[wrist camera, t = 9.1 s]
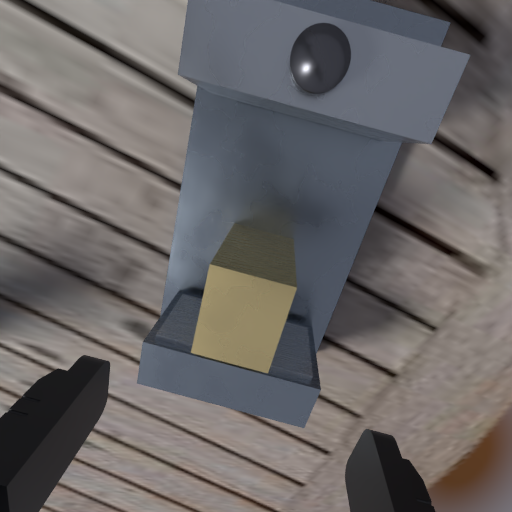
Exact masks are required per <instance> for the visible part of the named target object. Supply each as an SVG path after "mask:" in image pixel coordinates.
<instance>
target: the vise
mask: <svg viewBox="0 0 512 512" xmlns="http://www.w3.org/2000/svg"><path fill="white" fill-rule="evenodd" d="M274 1H278V2H281V3H285V4H289V5H292V6H296V7H299V8H303V9H307V10H310V11H314V12H317V13H321V14H325V15H328V16H332V17H336V18H339V19H343V20H346V21H350V22H354V23H357V24H361V25H364V26H368V27H372V28H375V29H379V30H383V31H386V32H390V33H393V34H397V35H401V36H404V37H408V38H411V39H415V40H419V41H422V42H426V43H430V44H433V45H437V46H440V47H441V45H442V43H443V40H444V38H445V35H446V33H447V30H448V28H449V25H450V23H451V22H447V21H443V20H440V19H436V18H433V17H429V16H425V15H422V14H418V13H415V12H411V11H407V10H404V9H400V8H397V7H393V6H389V5H386V4H382V3H379V2H375V1H371V0H274ZM401 144H402V142H385V141H382V140H378V139H374V138H371V137H367V136H363V135H360V134H356V133H352V132H349V131H345V130H341V129H338V128H334V127H331V126H327V125H323V124H320V123H316V122H312V121H309V120H305V119H301V118H298V117H294V116H290V115H287V114H283V113H280V112H276V111H272V110H269V109H265V108H261V107H258V106H254V105H250V104H247V103H243V102H239V101H236V100H232V99H228V98H225V97H221V96H218V95H214V94H212V93H210V92H208V91H206V90H204V89H203V88H201V87H199V86H197V92H196V98H195V105H194V111H193V117H192V123H191V130H190V136H189V142H188V148H187V154H186V161H185V167H184V173H183V179H182V185H181V192H180V198H179V204H178V210H177V217H176V223H175V229H174V235H173V241H172V248H171V254H170V260H169V266H168V272H167V279H166V285H165V291H164V297H163V304H162V310H161V316H160V318H159V320H158V321H157V323H156V324H155V325H154V327H153V328H152V330H151V331H150V333H149V334H148V335H147V337H146V338H145V340H144V341H143V345H142V352H141V359H140V366H139V373H138V380H137V383H138V384H142V385H145V386H149V387H153V388H156V389H160V390H164V391H168V392H171V393H175V394H179V395H183V396H186V397H190V398H194V399H197V400H201V401H205V402H209V403H212V404H216V405H220V406H224V407H227V408H231V409H235V410H238V411H242V412H246V413H250V414H253V415H257V416H261V417H265V418H268V419H272V420H276V421H279V422H283V423H287V424H291V425H294V426H298V427H302V428H304V427H305V425H306V423H307V420H308V418H309V416H310V413H311V411H312V409H313V407H314V404H315V402H316V400H317V397H318V395H319V393H320V390H321V388H320V380H319V373H318V365H317V358H316V353H317V351H318V348H319V346H320V343H321V341H322V339H323V336H324V334H325V331H326V329H327V326H328V324H329V321H330V319H331V316H332V314H333V311H334V309H335V306H336V304H337V302H338V299H339V297H340V294H341V292H342V289H343V287H344V284H345V282H346V279H347V277H348V274H349V272H350V269H351V267H352V265H353V262H354V260H355V257H356V255H357V252H358V250H359V247H360V245H361V242H362V240H363V237H364V235H365V232H366V230H367V228H368V225H369V223H370V220H371V218H372V215H373V213H374V210H375V208H376V205H377V203H378V200H379V198H380V195H381V193H382V191H383V188H384V186H385V183H386V181H387V178H388V176H389V173H390V171H391V168H392V166H393V163H394V161H395V158H396V156H397V154H398V151H399V149H400V146H401ZM234 223H236V224H239V225H243V226H247V227H250V228H254V229H258V230H262V231H265V232H269V233H273V234H276V235H280V236H284V237H287V238H291V239H294V250H295V265H296V279H297V290H296V292H295V295H294V298H293V301H292V304H291V307H290V310H289V313H288V316H287V319H286V322H285V325H284V328H283V331H282V334H281V337H280V339H279V342H278V345H277V348H276V351H275V354H274V357H273V360H272V363H271V366H270V369H269V372H268V373H264V372H261V371H257V370H253V369H249V368H246V367H242V366H238V365H234V364H231V363H227V362H223V361H219V360H216V359H212V358H208V357H205V356H201V355H197V354H193V353H191V350H192V345H193V340H194V336H195V331H196V326H197V322H198V317H199V312H200V308H201V303H202V298H203V294H204V289H205V284H206V279H207V275H208V270H209V265H210V263H211V261H212V260H213V258H214V256H215V255H216V253H217V251H218V250H219V248H220V246H221V245H222V243H223V241H224V240H225V238H226V236H227V235H228V233H229V231H230V230H231V228H232V226H233V225H234Z"/></svg>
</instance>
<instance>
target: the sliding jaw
mask: <svg viewBox="0 0 512 512" xmlns="http://www.w3.org/2000/svg"><path fill="white" fill-rule="evenodd" d="M469 57H470V55H469V54H466V53H462V52H458V51H455V50H451V49H448V48H444V47H440V46H437V45H433V44H430V43H426V42H422V41H419V40H415V39H411V38H408V37H404V36H401V35H397V34H393V33H390V32H386V31H383V30H379V29H375V28H372V27H368V26H364V25H361V24H357V23H354V22H350V21H346V20H343V19H339V18H336V17H332V16H328V15H325V14H321V13H317V12H314V11H310V10H307V9H303V8H299V7H296V6H292V5H289V4H285V3H281V2H278V1H274V0H188V5H187V12H186V20H185V27H184V34H183V41H182V49H181V56H180V63H179V70H178V75H180V76H182V77H183V78H185V79H187V80H189V81H190V82H192V83H194V84H196V85H197V86H199V87H201V88H203V89H204V90H206V91H208V92H210V93H212V94H214V95H218V96H221V97H225V98H228V99H232V100H236V101H239V102H243V103H247V104H250V105H254V106H258V107H261V108H265V109H269V110H272V111H276V112H280V113H283V114H287V115H290V116H294V117H298V118H301V119H305V120H309V121H312V122H316V123H320V124H323V125H327V126H331V127H334V128H338V129H341V130H345V131H349V132H352V133H356V134H360V135H363V136H367V137H371V138H374V139H378V140H382V141H385V142H403V143H422V144H432V141H433V139H434V137H435V135H436V132H437V130H438V128H439V125H440V123H441V121H442V119H443V116H444V114H445V112H446V110H447V107H448V105H449V103H450V100H451V98H452V96H453V94H454V91H455V89H456V87H457V85H458V82H459V80H460V78H461V75H462V73H463V71H464V69H465V66H466V64H467V62H468V60H469Z"/></svg>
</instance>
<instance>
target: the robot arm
mask: <svg viewBox="0 0 512 512" xmlns="http://www.w3.org/2000/svg"><path fill="white" fill-rule="evenodd" d="M109 373H110V362H109V361H106V360H102V359H98V358H94V357H90V356H86V355H83V356H82V357H80V358H79V359H78V360H77V361H76V362H75V363H74V365H73V366H72V367H71V368H70V369H69V370H68V371H66V370H62V369H56V370H55V371H53V372H51V373H49V374H48V375H46V376H44V377H42V378H41V379H39V380H38V381H37V382H36V383H35V384H34V385H33V386H32V387H31V388H30V389H29V390H28V391H27V392H26V393H25V394H24V395H23V396H22V398H21V399H19V400H18V401H17V402H16V403H15V404H14V405H13V406H12V407H11V408H10V409H9V411H8V412H7V413H5V414H4V415H3V416H2V417H1V418H0V512H39V511H40V509H41V508H42V506H43V505H44V503H45V501H46V500H47V498H48V497H49V495H50V494H51V492H52V491H53V489H54V488H55V486H56V485H57V483H58V481H59V480H60V478H61V477H62V475H63V474H64V472H65V471H66V469H67V468H68V466H69V465H70V463H71V461H72V460H73V458H74V457H75V455H76V454H77V452H78V451H79V449H80V448H81V446H82V444H83V443H84V441H85V440H86V438H87V437H88V435H89V434H90V432H91V431H92V429H93V428H94V426H95V424H96V423H97V421H98V420H99V418H100V416H101V415H102V412H103V410H104V408H105V405H106V402H107V398H108V386H109ZM345 481H346V488H347V494H348V500H349V506H350V512H435V509H434V507H433V506H432V505H431V499H430V497H429V494H428V491H427V489H426V486H425V484H424V481H423V479H422V478H421V476H420V475H419V474H418V472H417V471H416V469H415V468H414V466H413V465H412V464H411V462H410V461H409V460H407V459H403V458H402V457H401V454H400V451H399V448H398V445H397V443H396V440H395V439H394V437H393V436H392V435H388V434H384V433H380V432H377V431H373V430H369V429H366V430H365V431H364V432H363V433H362V435H361V437H360V439H359V441H358V442H357V444H356V446H355V448H354V450H353V452H352V454H351V455H350V457H349V459H348V462H347V465H346V472H345Z"/></svg>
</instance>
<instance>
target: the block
mask: <svg viewBox="0 0 512 512" xmlns="http://www.w3.org/2000/svg"><path fill="white" fill-rule="evenodd" d="M296 290H297V279H296V265H295V250H294V239H291V238H287V237H284V236H280V235H276V234H273V233H269V232H265V231H262V230H258V229H254V228H250V227H247V226H243V225H239V224H236V223H234V225H233V226H232V228H231V230H230V231H229V233H228V235H227V236H226V238H225V240H224V241H223V243H222V245H221V246H220V248H219V250H218V251H217V253H216V255H215V256H214V258H213V260H212V261H211V263H210V265H209V270H208V275H207V279H206V284H205V289H204V294H203V298H202V303H201V308H200V312H199V317H198V322H197V326H196V331H195V336H194V340H193V345H192V350H191V353H193V354H197V355H201V356H205V357H208V358H212V359H216V360H219V361H223V362H227V363H231V364H234V365H238V366H242V367H246V368H249V369H253V370H257V371H261V372H264V373H268V372H269V369H270V366H271V363H272V360H273V357H274V354H275V351H276V348H277V345H278V342H279V339H280V337H281V334H282V331H283V328H284V325H285V322H286V319H287V316H288V313H289V310H290V307H291V304H292V301H293V298H294V295H295V292H296Z"/></svg>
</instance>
